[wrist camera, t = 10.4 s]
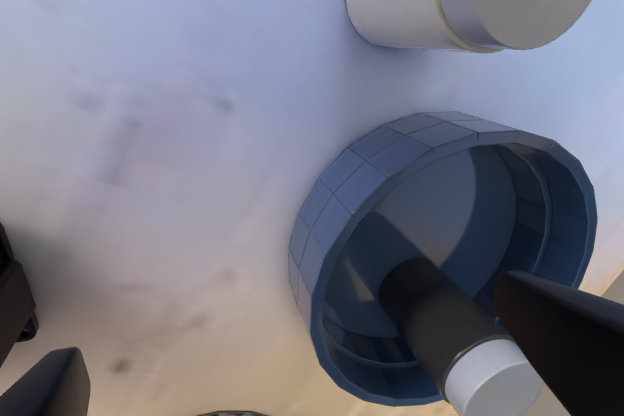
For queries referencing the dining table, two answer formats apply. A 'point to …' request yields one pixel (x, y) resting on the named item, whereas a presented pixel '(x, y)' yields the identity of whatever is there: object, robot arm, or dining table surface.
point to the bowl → (430, 235)
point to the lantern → (233, 414)
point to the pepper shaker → (458, 342)
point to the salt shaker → (464, 23)
